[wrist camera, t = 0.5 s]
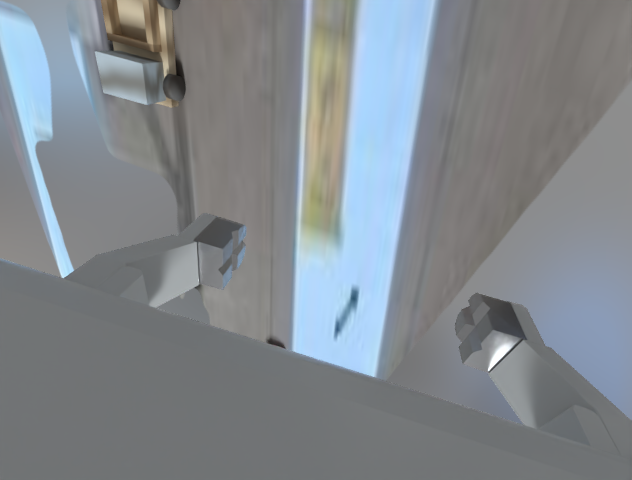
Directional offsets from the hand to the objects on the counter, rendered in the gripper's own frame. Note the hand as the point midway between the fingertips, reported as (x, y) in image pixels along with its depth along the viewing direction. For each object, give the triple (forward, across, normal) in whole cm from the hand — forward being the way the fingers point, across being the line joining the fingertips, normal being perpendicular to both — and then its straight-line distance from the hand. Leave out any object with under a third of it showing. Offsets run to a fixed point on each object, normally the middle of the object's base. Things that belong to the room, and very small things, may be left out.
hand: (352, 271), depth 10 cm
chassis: (+45, +41, 0) cm, 61 cm away
